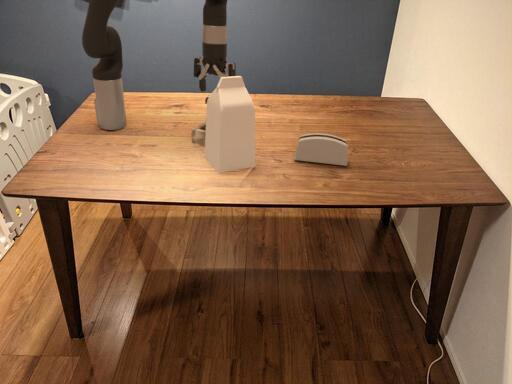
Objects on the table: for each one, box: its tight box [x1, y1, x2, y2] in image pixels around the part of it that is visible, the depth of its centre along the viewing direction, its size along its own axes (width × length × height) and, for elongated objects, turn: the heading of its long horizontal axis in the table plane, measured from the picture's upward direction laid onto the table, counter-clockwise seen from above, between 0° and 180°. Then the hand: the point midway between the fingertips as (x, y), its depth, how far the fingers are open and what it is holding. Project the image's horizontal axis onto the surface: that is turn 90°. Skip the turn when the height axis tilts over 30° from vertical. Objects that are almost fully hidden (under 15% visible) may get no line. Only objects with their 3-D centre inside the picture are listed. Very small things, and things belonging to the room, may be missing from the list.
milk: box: [204, 75, 256, 174], centre depth 118 cm, size 12×12×26 cm
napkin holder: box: [293, 132, 349, 167], centre depth 125 cm, size 17×5×10 cm, turn 81°
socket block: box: [191, 121, 206, 147], centre depth 137 cm, size 10×12×5 cm
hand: (214, 93), depth 131 cm, fingers open, 8 cm apart
